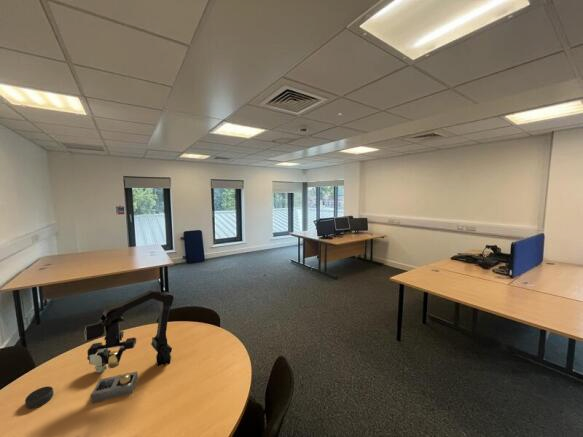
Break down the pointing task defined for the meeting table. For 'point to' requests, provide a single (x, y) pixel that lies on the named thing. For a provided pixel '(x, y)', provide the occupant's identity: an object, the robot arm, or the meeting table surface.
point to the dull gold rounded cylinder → (125, 379)
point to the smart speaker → (39, 397)
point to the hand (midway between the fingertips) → (113, 362)
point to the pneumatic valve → (98, 362)
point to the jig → (113, 388)
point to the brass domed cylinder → (113, 359)
